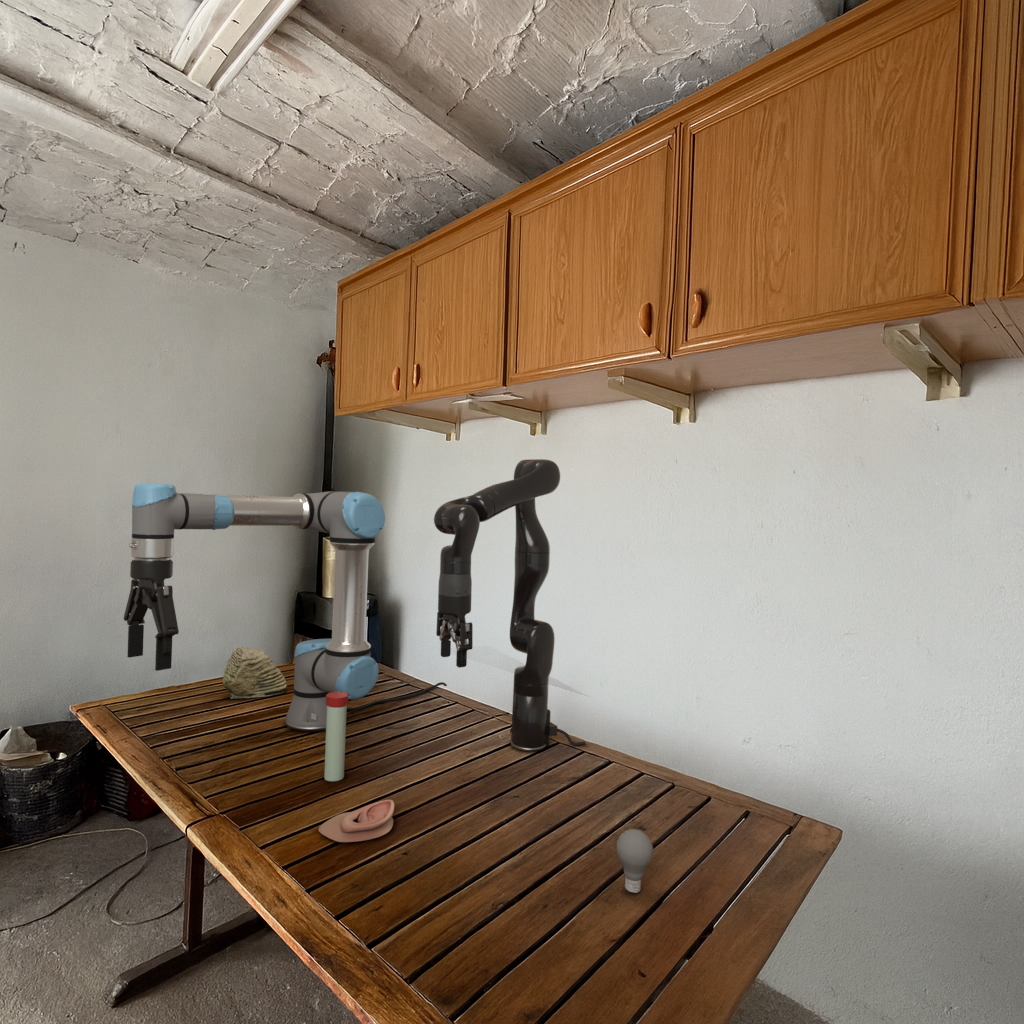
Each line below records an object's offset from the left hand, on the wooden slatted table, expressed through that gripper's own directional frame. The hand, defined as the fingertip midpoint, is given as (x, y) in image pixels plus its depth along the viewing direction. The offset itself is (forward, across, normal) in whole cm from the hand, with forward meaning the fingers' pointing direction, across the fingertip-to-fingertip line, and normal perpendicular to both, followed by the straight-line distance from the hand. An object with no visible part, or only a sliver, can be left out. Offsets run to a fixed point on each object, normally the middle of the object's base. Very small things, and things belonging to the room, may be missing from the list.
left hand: (148, 662), depth 129 cm
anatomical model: (+28, +41, +22) cm, 54 cm away
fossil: (+28, -47, +50) cm, 74 cm away
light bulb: (+28, +90, +41) cm, 103 cm away
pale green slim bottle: (+28, +19, +32) cm, 47 cm away
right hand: (+1, +38, +50) cm, 63 cm away
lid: (+10, +19, +32) cm, 39 cm away
